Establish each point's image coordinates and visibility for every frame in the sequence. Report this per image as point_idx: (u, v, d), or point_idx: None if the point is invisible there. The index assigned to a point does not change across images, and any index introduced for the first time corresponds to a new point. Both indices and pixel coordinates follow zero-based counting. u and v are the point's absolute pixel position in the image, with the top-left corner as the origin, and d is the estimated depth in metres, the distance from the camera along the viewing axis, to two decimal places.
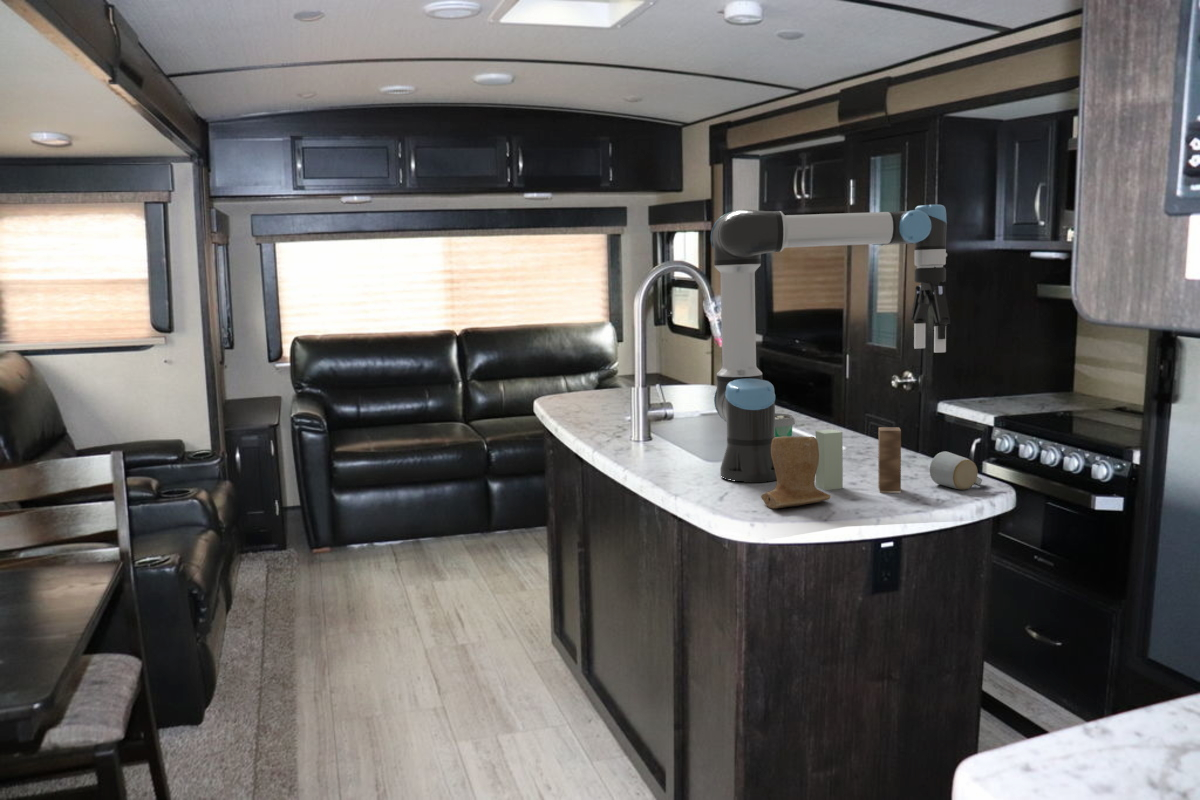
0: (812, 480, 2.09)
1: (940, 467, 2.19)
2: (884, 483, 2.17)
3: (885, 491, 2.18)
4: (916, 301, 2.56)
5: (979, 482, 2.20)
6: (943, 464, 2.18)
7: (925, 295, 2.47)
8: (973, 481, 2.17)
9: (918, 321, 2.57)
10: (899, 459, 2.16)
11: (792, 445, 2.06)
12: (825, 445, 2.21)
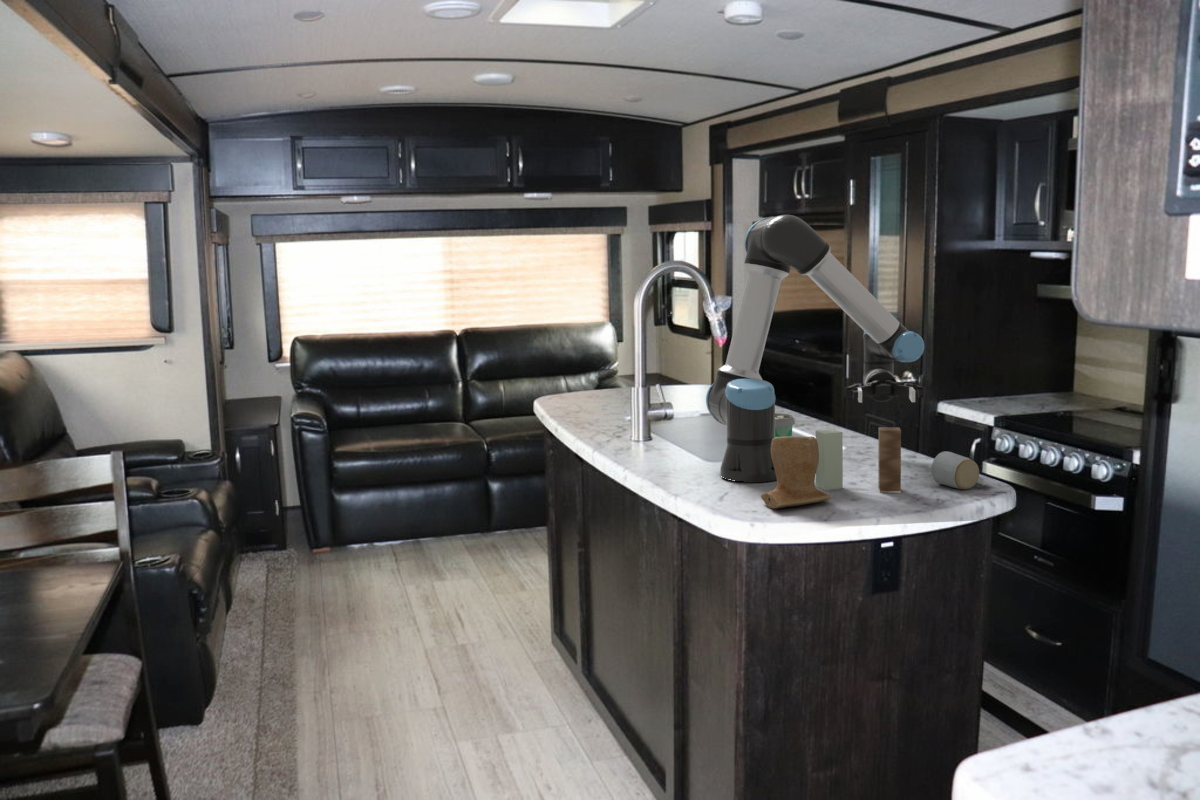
0: (812, 480, 2.09)
1: (942, 467, 2.19)
2: (884, 483, 2.17)
3: (885, 491, 2.18)
4: (856, 386, 2.39)
5: (981, 482, 2.20)
6: (945, 463, 2.19)
7: (890, 381, 2.39)
8: (975, 481, 2.17)
9: None
10: (899, 459, 2.16)
11: (792, 445, 2.06)
12: (825, 445, 2.21)
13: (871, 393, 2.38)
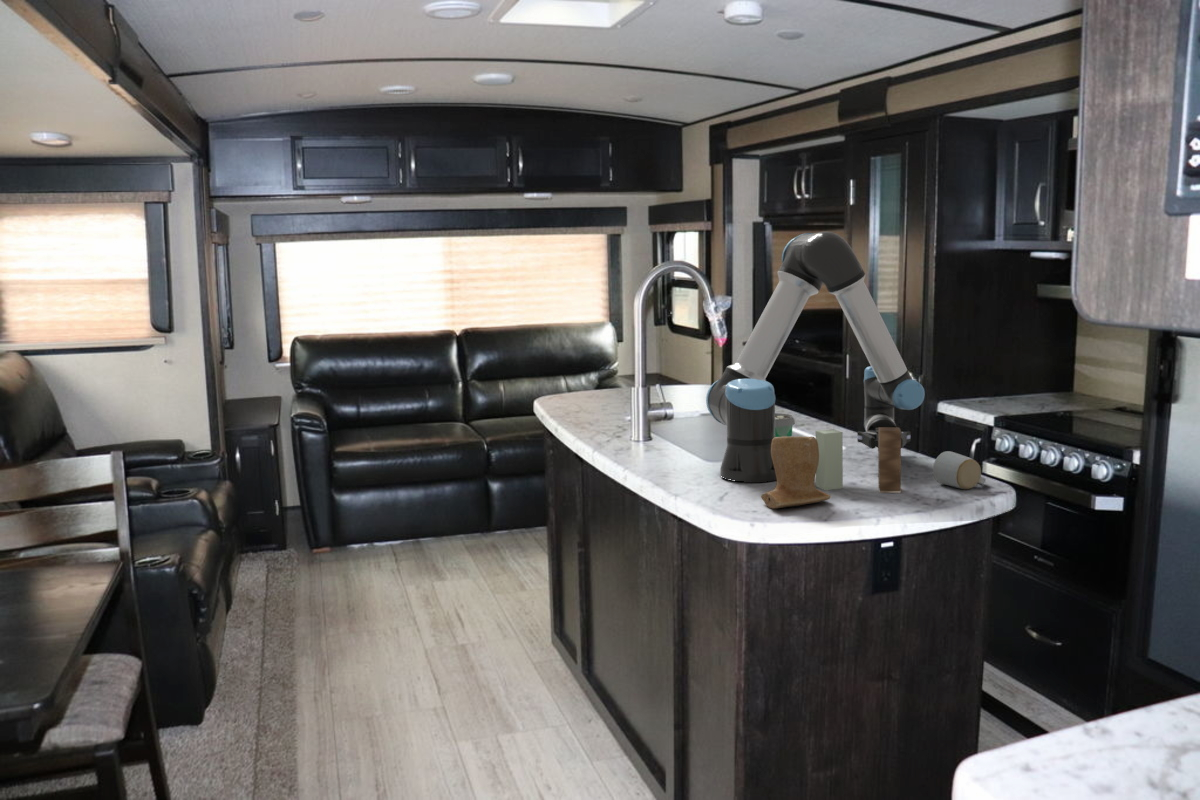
0: (812, 480, 2.09)
1: (943, 467, 2.19)
2: (884, 483, 2.17)
3: (885, 491, 2.18)
4: None
5: (982, 482, 2.20)
6: (947, 463, 2.19)
7: None
8: (976, 481, 2.18)
9: None
10: (899, 459, 2.16)
11: (792, 445, 2.06)
12: (825, 445, 2.21)
13: None
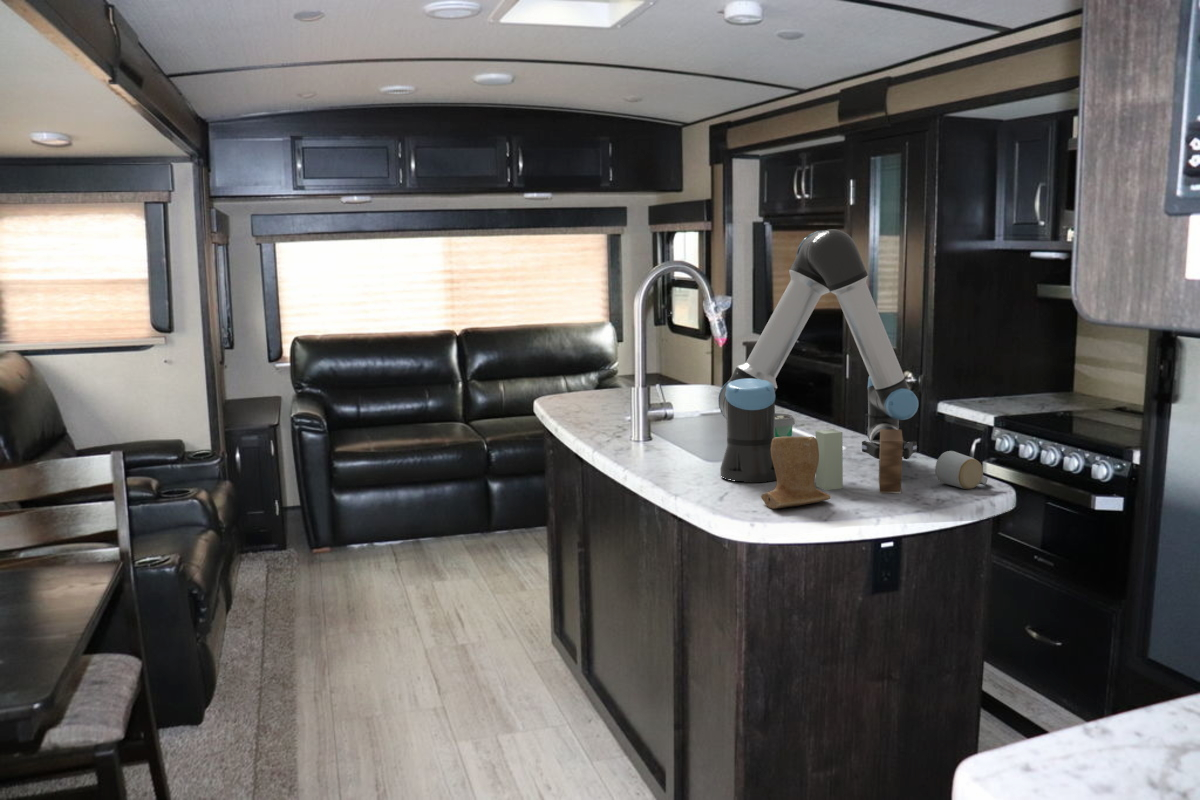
0: (812, 480, 2.09)
1: (946, 466, 2.19)
2: (885, 485, 2.16)
3: (885, 492, 2.17)
4: None
5: (984, 481, 2.20)
6: (949, 463, 2.19)
7: None
8: (978, 480, 2.18)
9: None
10: (900, 465, 2.13)
11: (792, 445, 2.06)
12: (825, 445, 2.21)
13: None
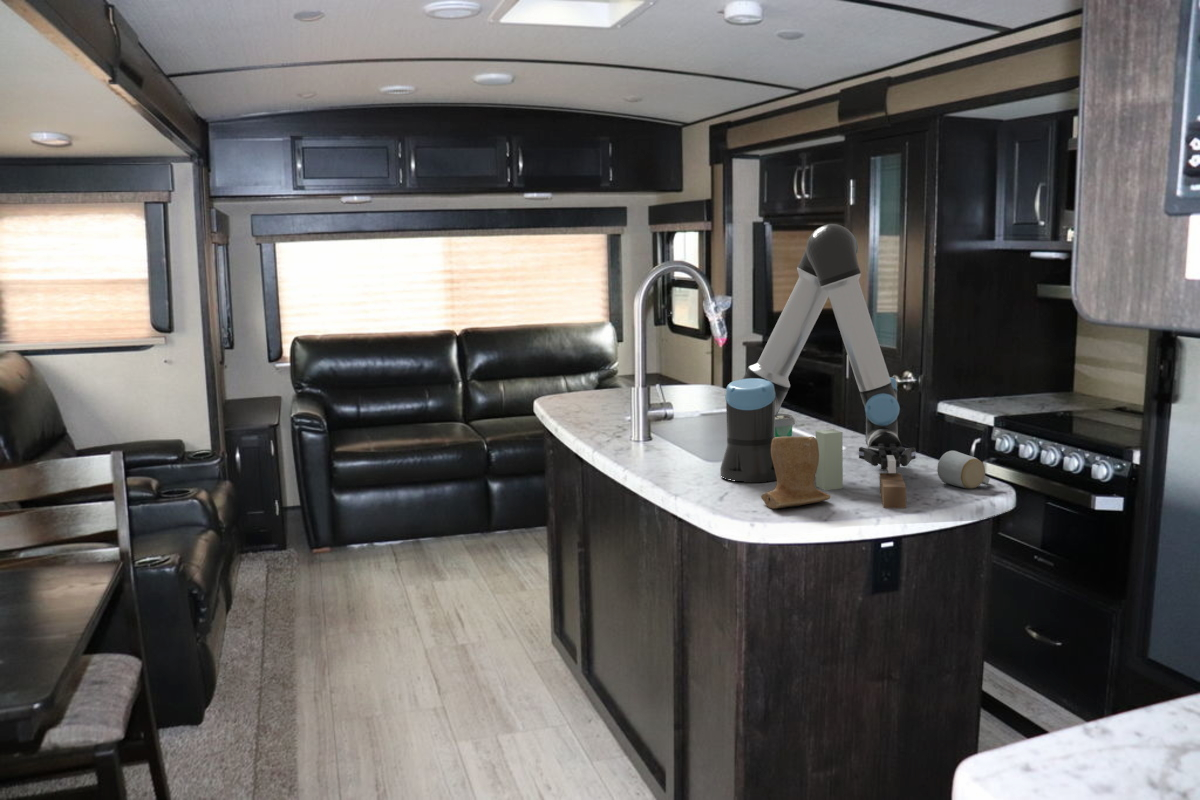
0: (812, 480, 2.09)
1: (948, 466, 2.20)
2: None
3: None
4: None
5: (987, 481, 2.20)
6: (951, 463, 2.19)
7: (892, 445, 2.26)
8: (981, 480, 2.18)
9: None
10: None
11: (792, 445, 2.06)
12: (825, 445, 2.21)
13: None
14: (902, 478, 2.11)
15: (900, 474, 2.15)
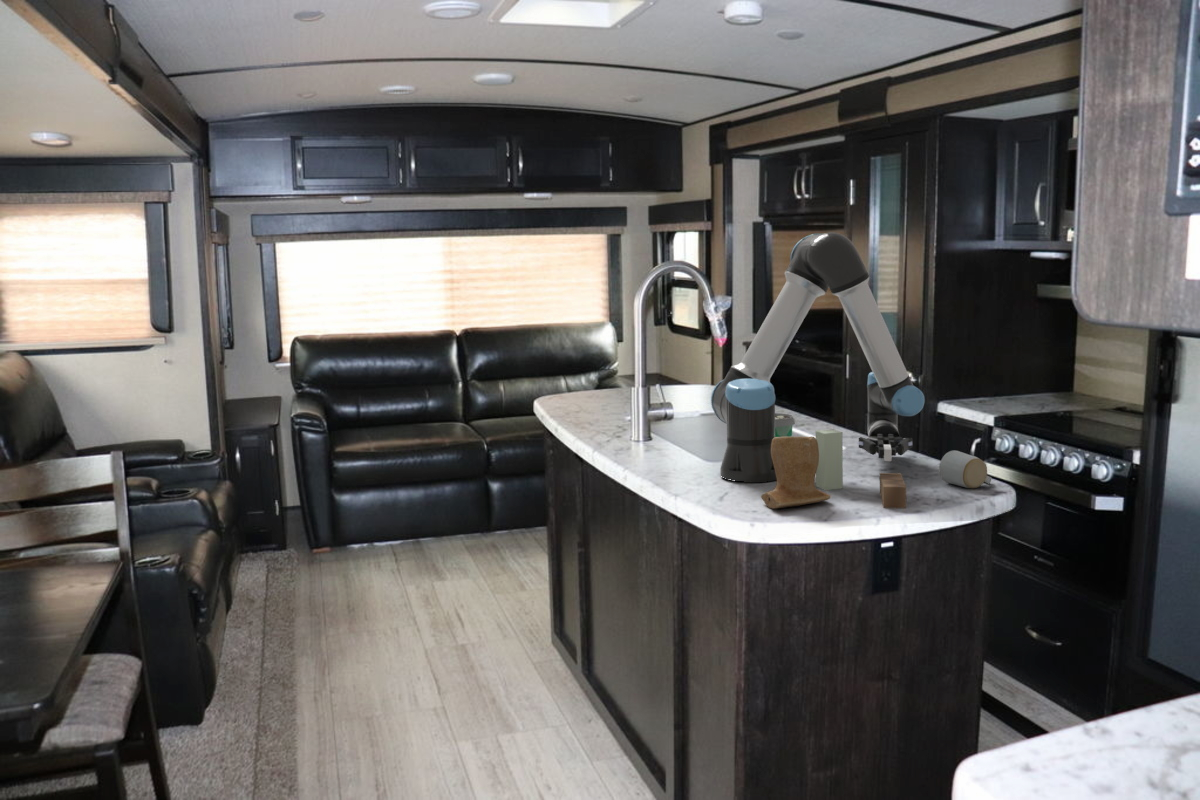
0: (812, 480, 2.09)
1: (950, 466, 2.20)
2: None
3: None
4: None
5: (988, 481, 2.20)
6: (953, 462, 2.19)
7: (890, 435, 2.38)
8: (983, 480, 2.18)
9: None
10: None
11: (792, 445, 2.06)
12: (825, 445, 2.21)
13: None
14: (902, 478, 2.11)
15: (900, 474, 2.15)
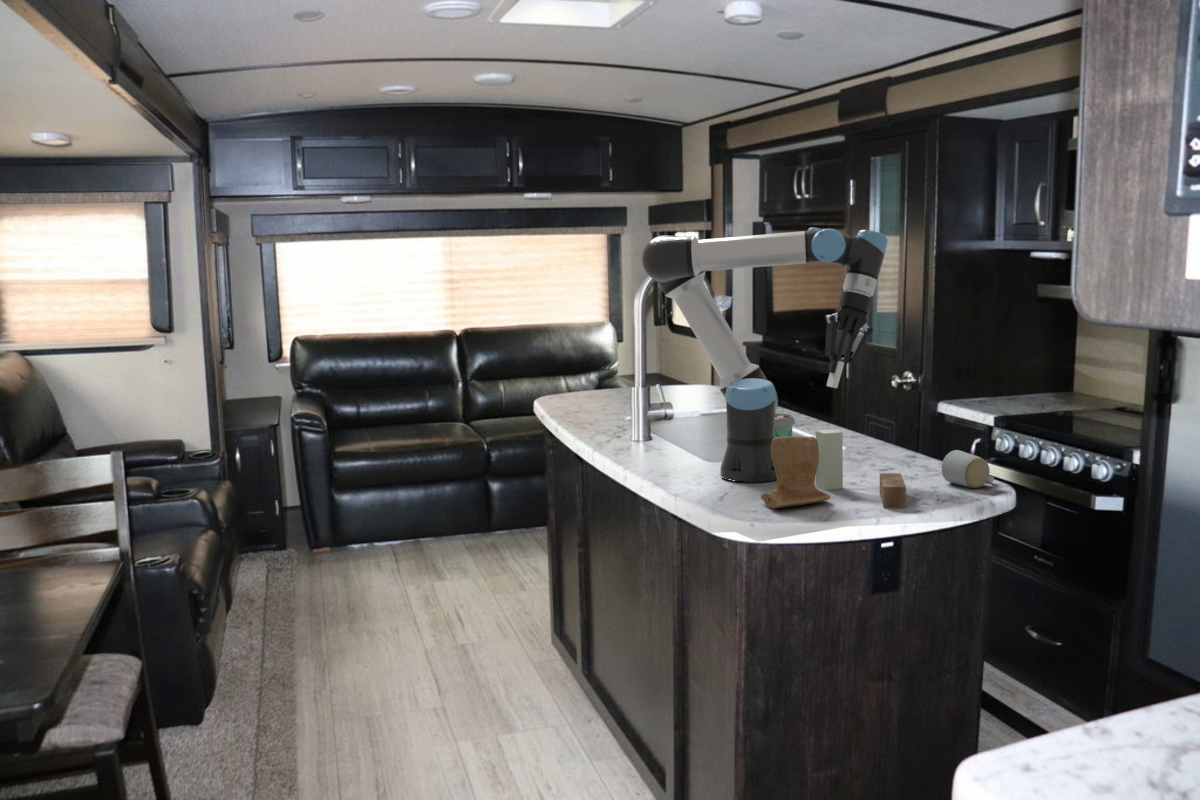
0: (812, 480, 2.09)
1: (952, 466, 2.20)
2: None
3: None
4: (856, 339, 2.42)
5: (991, 480, 2.21)
6: (955, 462, 2.20)
7: None
8: (985, 479, 2.18)
9: (841, 360, 2.40)
10: None
11: (792, 445, 2.06)
12: (825, 445, 2.21)
13: (850, 334, 2.39)
14: (902, 478, 2.11)
15: (900, 474, 2.15)
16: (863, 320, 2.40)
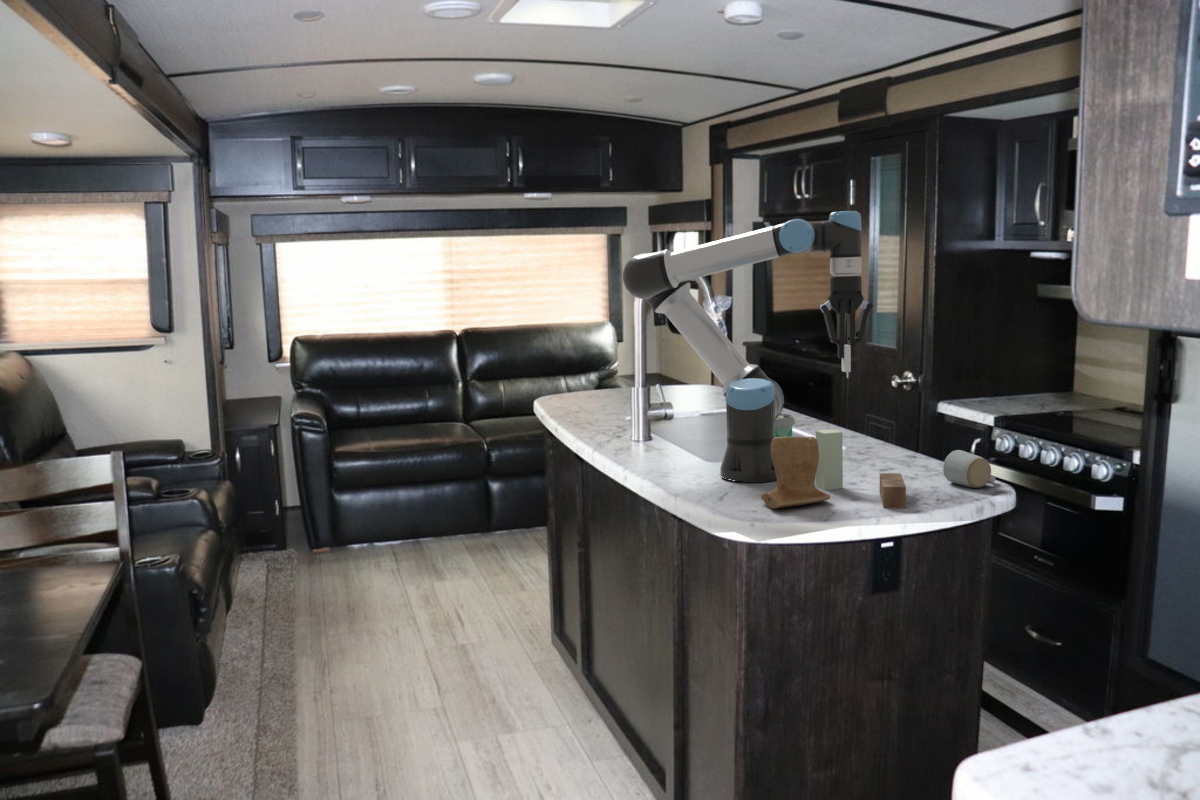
0: (812, 480, 2.09)
1: (954, 465, 2.20)
2: None
3: None
4: (859, 317, 2.42)
5: (992, 480, 2.21)
6: (957, 462, 2.20)
7: None
8: (987, 479, 2.19)
9: (848, 342, 2.41)
10: None
11: (792, 445, 2.06)
12: (825, 445, 2.21)
13: (849, 316, 2.40)
14: (902, 478, 2.11)
15: (900, 474, 2.15)
16: (859, 298, 2.39)
